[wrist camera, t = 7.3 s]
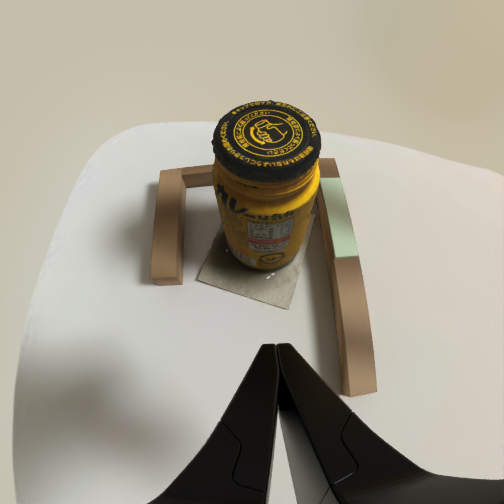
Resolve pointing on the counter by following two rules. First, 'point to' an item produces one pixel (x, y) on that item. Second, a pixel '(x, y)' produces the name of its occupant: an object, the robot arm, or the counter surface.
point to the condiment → (263, 200)
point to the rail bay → (337, 253)
